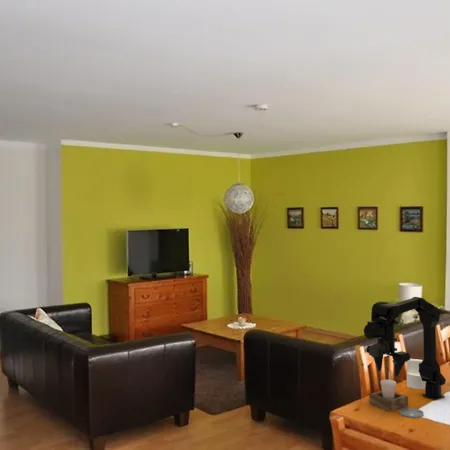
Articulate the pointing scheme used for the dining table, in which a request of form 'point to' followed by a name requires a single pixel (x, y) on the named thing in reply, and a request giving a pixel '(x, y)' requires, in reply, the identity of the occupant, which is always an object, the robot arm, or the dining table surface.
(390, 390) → the smoothie
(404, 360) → the robot arm
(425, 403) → the dining table surface
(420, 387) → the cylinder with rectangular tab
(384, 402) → the holder
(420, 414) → the coaster
